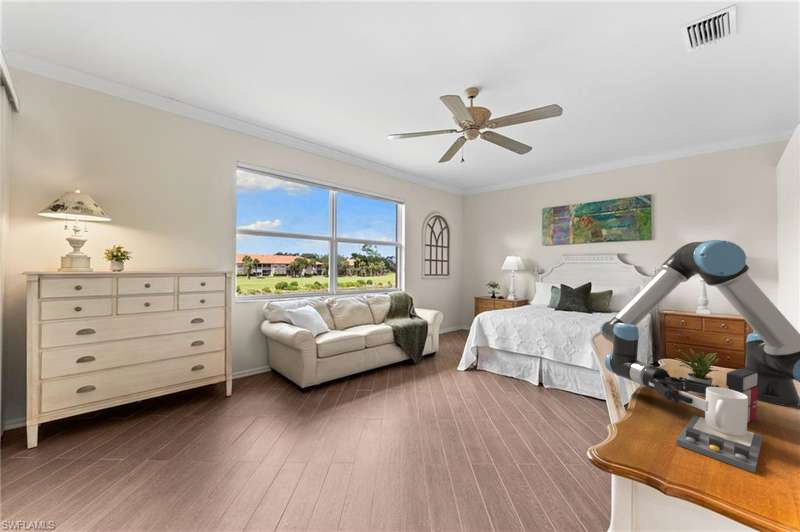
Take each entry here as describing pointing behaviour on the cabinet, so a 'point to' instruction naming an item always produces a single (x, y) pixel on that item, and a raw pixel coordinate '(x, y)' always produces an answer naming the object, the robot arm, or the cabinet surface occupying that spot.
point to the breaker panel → (726, 450)
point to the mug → (726, 411)
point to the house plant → (699, 368)
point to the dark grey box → (745, 388)
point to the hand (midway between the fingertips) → (725, 404)
